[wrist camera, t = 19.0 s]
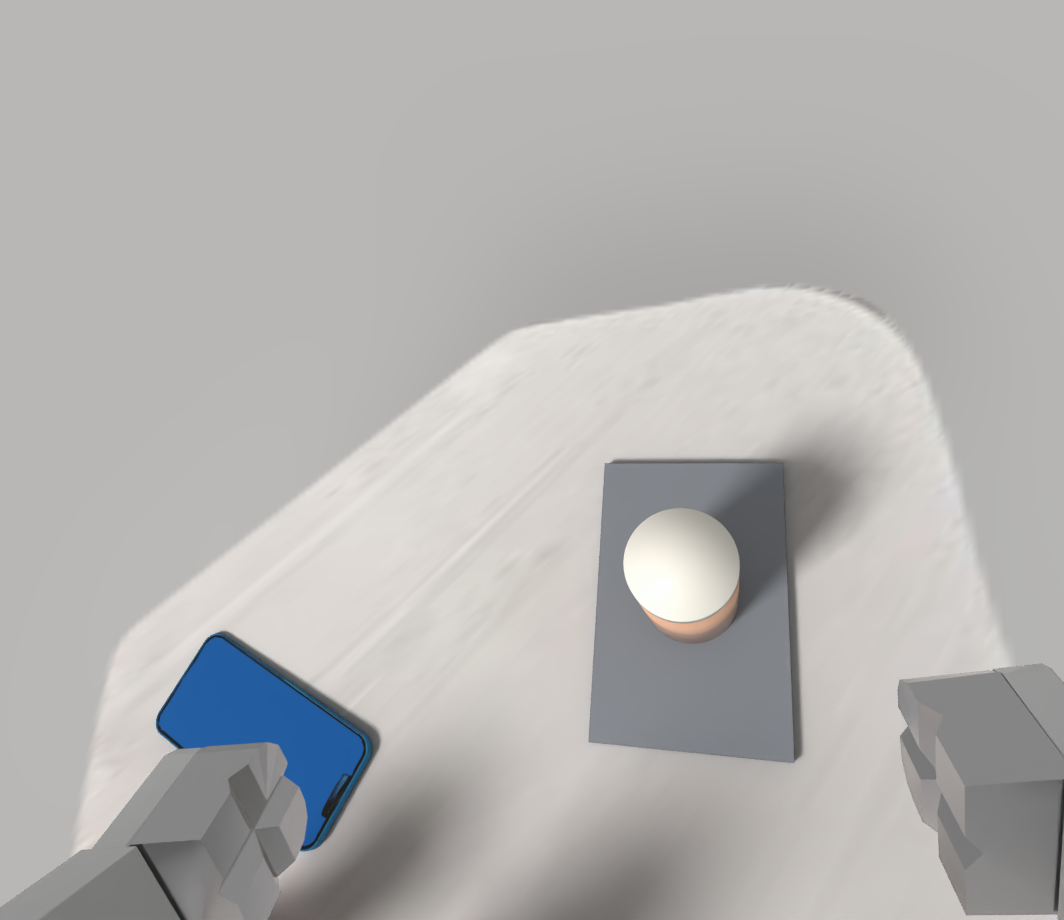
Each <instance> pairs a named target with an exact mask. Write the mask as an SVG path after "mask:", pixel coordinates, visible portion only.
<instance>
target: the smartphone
mask: <svg viewBox="0 0 1064 920" xmlns="http://www.w3.org/2000/svg"><path fill="white" fill-rule="evenodd" d="M156 728H157V730H158V732H159V733H160V734H161V735H162V736H163V737H164V738H166V739H167V740H168V741H169V742H170V743H171V744H173V745H174V746H175V747H176V748H177V749H189V748H205V747H207V746H220V745H234V744H248V743H262V742H269V743H273V744H277V745H279V747H280V749H281V751H282V752H283V754H284V756H285V758H286V760H287V762H288V764H287V767H286V770H285V772H284V776H285V777H286V778H288V779H289V780H291V781H292V782H293V783H295V784H296V785H297V786H299V788H300V790H301V792H302V795H303V797H304V799H305V804H306V810H307V817H308V818H307V825H306V832H305V839H304V842H303V844H302V847H301V849H300V851H309V850H313V849H315V848H317V847H318V846H320V844H321V843H322V842H323V840H324V839H325V837H326V835H327V833H328V832H329V830H330V828H331V826H332V824H333V823H334V821H335V819H336V817H337V816H338V814H339V812H340V810H341V809H342V807H343V805H344V803H345V801H346V800H347V798H348V796H349V794H350V793H351V791H352V789H353V787H354V785H355V784H356V782H357V780H358V778H359V777H360V775H361V773H362V771H363V770H364V768H365V766H366V764H367V762H368V761H369V759H370V757H371V754H372V743H371V740H370V738H369V737H368V736H367V735H366V734H365V733H363V732H362V731H361V730H359V729H358V728H356V727H355V726H354V725H352V724H351V723H349V722H348V721H347V720H345V719H344V718H342V717H341V716H339V715H338V714H337V713H335V712H334V711H333V710H331V709H330V708H328V707H327V706H326V705H324V704H323V703H321V702H319V700H317V699H316V698H314V697H313V696H312V695H310V694H309V693H307V692H305V691H304V690H302V689H301V688H299V687H298V686H297V685H295V684H294V683H292V682H291V681H289V680H288V679H287V678H285V677H284V676H282V675H281V674H279V673H278V672H277V671H275V670H274V669H272V668H271V667H269V666H268V665H267V664H265V663H264V662H262V661H261V660H260V659H258V658H257V657H255V656H254V655H253V654H251V653H250V652H248V651H247V650H245V649H244V648H243V647H241V646H240V645H238V644H237V643H235V642H234V641H233V640H231V639H230V638H228V637H227V636H225V635H222V634H213V635H211V636H210V637H208V638H207V639H206V640H205V642H204V643H203V645H202V646H201V648H200V649H199V651H198V653H197V654H196V656H195V657H194V659H193V660H192V662H191V663H190V665H189V667H188V668H187V670H186V671H185V673H184V674H183V676H182V677H181V679H180V680H179V682H178V684H177V685H176V687H175V688H174V690H173V691H172V693H171V694H170V696H169V698H168V699H167V701H166V702H165V704H164V705H163V707H162V708H161V710H160V711H159V713H158V716H157V719H156Z"/></svg>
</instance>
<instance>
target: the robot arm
mask: <svg viewBox="0 0 1064 920" xmlns="http://www.w3.org/2000/svg"><path fill="white" fill-rule="evenodd" d="M898 707H899V709H900V711H901V713H902V715H903V717H904V719H905V721H906V723H907V725H908V727H907V728H906V729H905V731H904V732H903V733H902V734H901V735H900V744H901V755H902V762H903V766H904V771H905V775H906V780H907V784H908V787H909V789H910V792H911V795H912V798H913V801H914V803H915V805H916V808H917V810H918V812H919V814H920V817H921V819H922V821H923V822H924V823H925V824H927V825H928V826H930V827H931V828H932V829H934V830H935V831H936V832H938V845H939V858H940V860H941V863H942V865H943V867H944V869H945V871H946V873H947V875H948V878H949V880H950V882H951V884H952V886H953V888H954V890H955V892H956V895H957V897H958V899H959V901H960V903H961V905H962V907H963V910H964V912H965V914H966V915H1044V914H1058V920H1064V682H1063V681H1062V680H1061V679H1060V678H1059V677H1058V676H1057V674H1056V673H1055V672H1054V671H1053V670H1052V669H1051V668H1049V667H1047V666H1045V665H1043V664H1033V665H1024V666H1016V667H1007V668H999V669H993V670H992V671H989V670H987V671H978V672H969V673H959V674H950V675H940V676H931V677H921V678H912V679H902V680H900V681H899V686H898ZM287 764H288V762H287V760H286V758H285V756H284V754H283V752H282V751H281V749H280V747H279V745H277V744H273V743H269V742H262V743H248V744H234V745H220V746H207V747H205V748H189V749H176V750H175V751H173V752H171V753H169V754H167V755H165V756H164V757H163V758H162V760H161V761H160V762H159V763H158V765H157V766H156V767H155V769H154V770H153V771H152V772H151V774H150V775H149V776H148V778H147V779H146V780H145V781H144V783H143V784H142V785H141V787H140V788H139V789H138V790H137V792H136V793H135V794H134V796H133V797H132V798H131V799H130V801H129V802H128V803H127V805H126V806H125V807H124V808H123V810H122V811H121V812H120V813H119V815H118V816H117V817H116V819H115V820H114V821H113V822H112V824H111V825H110V826H109V828H108V829H107V830H106V831H105V833H104V834H103V835H102V837H101V838H100V839H99V840H98V842H97V843H96V844H95V846H94V847H93V848H92V849H89V850H81V851H80V852H78V853H77V854H75V855H74V856H73V857H71V858H70V859H68V860H67V861H66V862H64V863H63V864H61V865H60V866H58V867H57V868H56V869H54V870H53V871H51V872H50V873H49V874H47V875H46V876H44V877H43V878H41V879H40V880H39V881H37V882H36V883H34V884H33V885H31V886H30V887H29V888H27V889H26V890H24V891H23V892H22V893H20V894H19V895H17V896H16V897H14V898H13V899H12V900H10V901H9V902H7V903H6V904H5V905H3V906H2V907H0V920H268V918H269V916H270V914H271V911H272V909H273V907H274V905H275V903H276V901H277V899H278V897H279V894H280V892H281V891H280V886H279V881H278V876H279V875H280V874H281V873H282V872H283V871H284V870H285V869H287V868H288V867H289V866H290V865H291V864H292V863H293V862H294V861H295V860H296V858H297V856H298V853H299V851H300V849H301V847H302V844H303V842H304V839H305V832H306V825H307V818H308V817H307V810H306V804H305V799H304V797H303V795H302V792H301V790H300V788H299V786H297V785H296V784H295V783H293V782H292V781H291V780H289V779H288V778H286V777H285V776H284V772H285V770H286V767H287Z"/></svg>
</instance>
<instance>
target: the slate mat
mask: <svg viewBox="0 0 1064 920" xmlns="http://www.w3.org/2000/svg"><path fill="white" fill-rule="evenodd" d="M674 508H688V509H694V510H697V511H701V512H703V513H705V514H708V515H710V516H711V517H713V518H715V519H716V520H717V521H719V522H720V523H721V524H722V525H723V526H724V527H725V528H726V529H727V531H728V532H729V533H730V535H731V536H732V538H733V540H734V542H735V544H736V547H737V550H738V554H739V561H740V571H739V603H738V609H737V613H736V615H735V618H734V620H733V621H732V623H731V625H730V626H729V627H728V628H727V629H726V631H724V632H723V633H722V634H721V635H719V636H718V637H716V638H714V639H712V640H710V641H707V642H704V643H698V644H688V643H682V642H678V641H675V640H673V639H671V638H669V637H667V636H665V635H664V634H663V633H661V632H660V631H659V630H658V629H657V628H656V627H655V626H654V625H653V623H652V622H651V620H650V619H649V617H648V616H647V614H646V613H645V611H644V610H643V608H642V607H641V605H640V604H639V602H638V601H637V599H636V598H635V597H634V595H633V593H632V592H631V590H630V588H629V586H628V584H627V581H626V578H625V574H624V565H623V561H624V553H625V548H626V546H627V543H628V541H629V539H630V537H631V535H632V533H633V532H634V531H635V529H636V528H637V527H638V526H639V525H640V524H641V523H642V522H643V521H644V520H646V519H647V518H649V517H650V516H652V515H654V514H656V513H658V512H661V511H664V510H668V509H674ZM589 742H592V743H602V744H612V745H622V746H632V747H642V748H652V749H662V750H672V751H681V752H691V753H701V754H711V755H721V756H731V757H741V758H751V759H761V760H770V761H780V762H790V763H794V741H793V715H792V689H791V663H790V637H789V611H788V585H787V559H786V534H785V508H784V482H783V463H605V470H604V487H603V505H602V522H601V539H600V556H599V573H598V590H597V607H596V624H595V641H594V658H593V675H592V692H591V709H590V726H589Z"/></svg>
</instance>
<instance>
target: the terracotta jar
mask: <svg viewBox="0 0 1064 920" xmlns="http://www.w3.org/2000/svg"><path fill="white" fill-rule="evenodd" d="M623 565H624V574H625V578H626V581H627V584H628V586H629V588H630V590H631V592H632V593H633V595H634V597H635V598H636V599H637V601H638V602H639V604H640V605H641V607H642V608H643V610H644V611H645V613H646V614H647V616H648V617H649V619H650V620H651V622H652V623H653V625H654V626H655V627H656V628H657V629H658V630H659V631H660V632H661V633H663V634H664V635H665V636H667V637H669V638H671V639H673V640H675V641H678V642H682V643H688V644H698V643H704V642H707V641H710V640H712V639H714V638H716V637H718V636H719V635H721V634H722V633H723V632H724V631H726V629H727V628H728V627H729V626H730V625H731V623H732V621H733V620H734V618H735V615H736V613H737V609H738V603H739V571H740V561H739V554H738V550H737V547H736V544H735V542H734V540H733V538H732V536H731V535H730V533H729V532H728V531H727V529H726V528H725V527H724V526H723V525H722V524H721V523H720V522H719V521H717V520H716V519H715V518H713V517H711V516H710V515H708V514H705V513H703V512H701V511H697V510H694V509H688V508H674V509H668V510H664V511H661V512H658V513H656V514H654V515H652V516H650V517H649V518H647V519H646V520H644V521H643V522H642V523H641V524H640V525H639V526H638V527H637V528H636V529H635V531H634V532H633V533H632V535H631V537H630V539H629V541H628V543H627V546H626V548H625V553H624V561H623Z"/></svg>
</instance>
